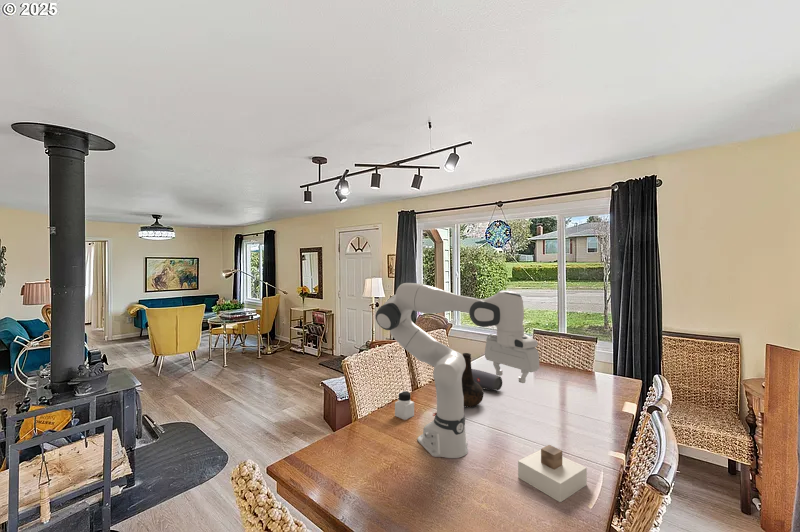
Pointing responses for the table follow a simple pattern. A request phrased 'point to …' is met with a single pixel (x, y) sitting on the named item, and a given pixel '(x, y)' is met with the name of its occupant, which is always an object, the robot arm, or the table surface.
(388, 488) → the table surface
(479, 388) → the glass bottle
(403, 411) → the medicine bottle
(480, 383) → the bluetooth speaker
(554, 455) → the walnut cube
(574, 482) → the plate
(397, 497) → the table surface
